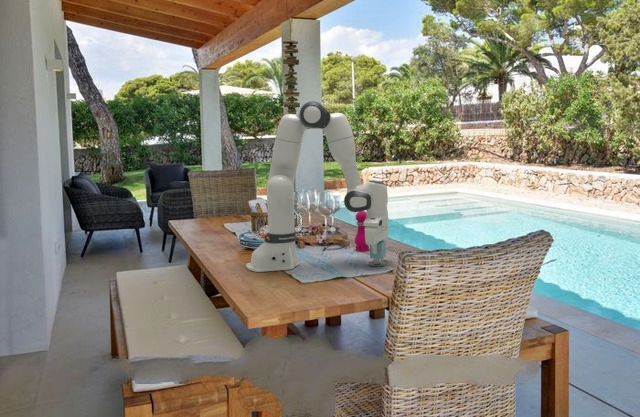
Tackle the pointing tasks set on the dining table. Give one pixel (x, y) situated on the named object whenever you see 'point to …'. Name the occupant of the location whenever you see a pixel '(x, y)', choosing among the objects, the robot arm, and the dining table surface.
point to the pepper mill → (361, 232)
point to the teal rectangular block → (379, 250)
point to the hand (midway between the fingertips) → (377, 251)
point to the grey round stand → (377, 263)
